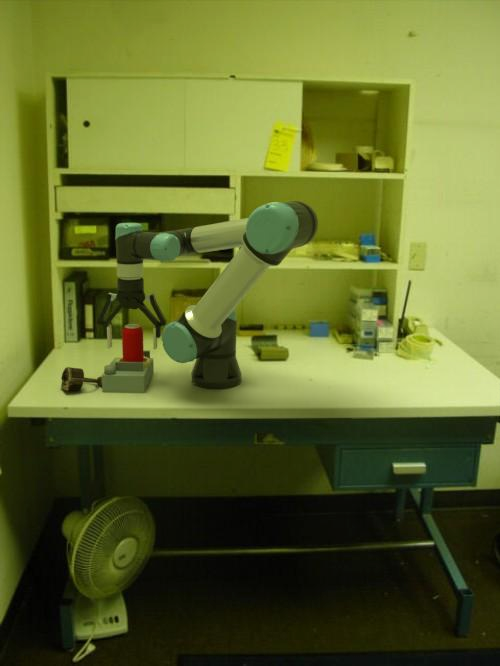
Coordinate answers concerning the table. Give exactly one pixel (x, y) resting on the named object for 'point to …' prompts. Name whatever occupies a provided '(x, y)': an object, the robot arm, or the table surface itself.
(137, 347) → the beverage can
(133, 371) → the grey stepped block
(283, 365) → the table surface
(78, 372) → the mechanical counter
